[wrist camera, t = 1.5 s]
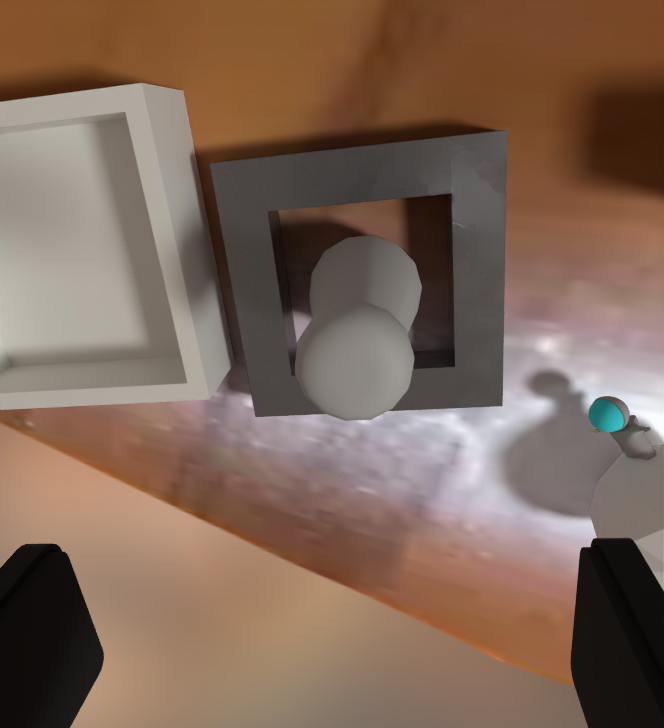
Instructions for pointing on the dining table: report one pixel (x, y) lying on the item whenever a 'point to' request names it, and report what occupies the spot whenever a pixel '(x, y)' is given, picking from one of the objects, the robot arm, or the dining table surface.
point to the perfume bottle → (630, 485)
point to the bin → (105, 253)
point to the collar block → (363, 184)
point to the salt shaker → (359, 329)
